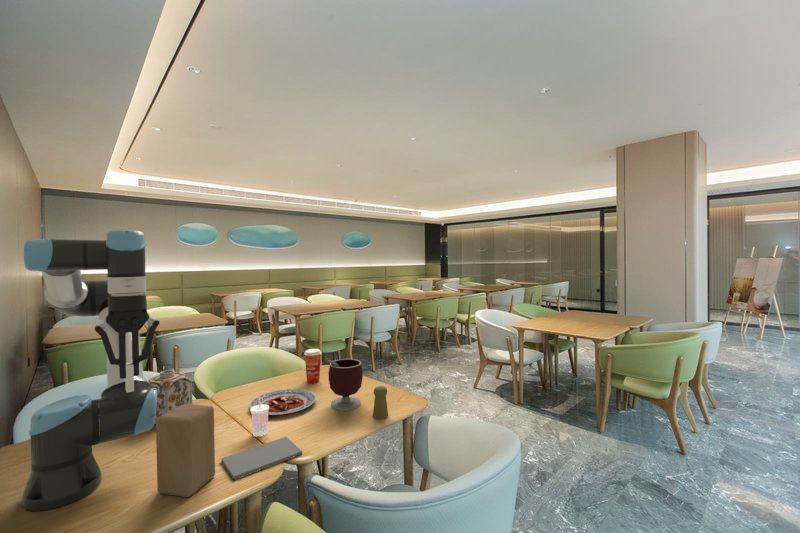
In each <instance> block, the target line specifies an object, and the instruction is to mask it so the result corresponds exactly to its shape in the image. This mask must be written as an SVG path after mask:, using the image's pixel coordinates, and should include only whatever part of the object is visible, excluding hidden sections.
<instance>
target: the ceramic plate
mask: <svg viewBox="0 0 800 533" xmlns="http://www.w3.org/2000/svg"><path fill="white" fill-rule="evenodd" d="M316 400H317V396H316V394H314V393H313V392H311V391H308V390H305V389H297V388H296V389H295V388H294V389H292V388H291V389H290V388H289V389H279V390H278V389H277V390H274V391H270V392H266V393H264V394H260V403H261V404H266V405H269V410H268V416H279V415H286V414H292V413H296V412H299V411H302V410H305V409H307V408H308V407H311V406H312V405H313V404H314V403H315V402H316ZM256 405H259V396H257V397H256V398H253V400H252V401H251V402H250V403H249V409H251V407H253V406H256Z"/></svg>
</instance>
